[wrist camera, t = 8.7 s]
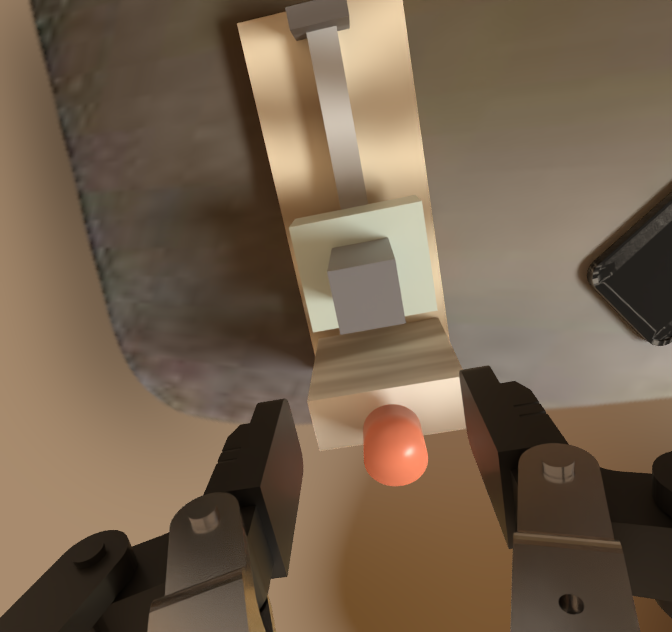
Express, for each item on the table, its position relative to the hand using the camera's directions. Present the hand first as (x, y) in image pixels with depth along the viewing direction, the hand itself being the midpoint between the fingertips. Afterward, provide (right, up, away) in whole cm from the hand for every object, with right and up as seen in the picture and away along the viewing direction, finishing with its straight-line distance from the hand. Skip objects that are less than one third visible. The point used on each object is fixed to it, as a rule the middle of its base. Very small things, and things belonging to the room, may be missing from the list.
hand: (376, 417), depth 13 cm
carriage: (+1, +6, +17) cm, 18 cm away
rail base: (0, +10, +19) cm, 21 cm away
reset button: (+2, -3, +11) cm, 12 cm away
